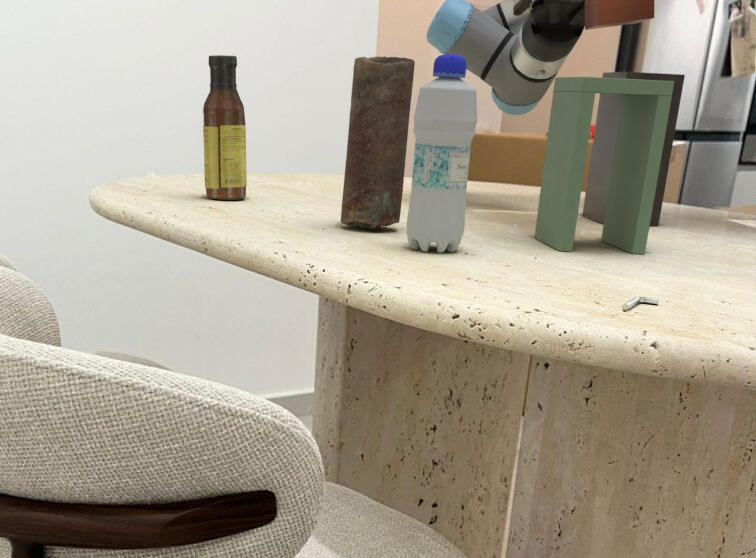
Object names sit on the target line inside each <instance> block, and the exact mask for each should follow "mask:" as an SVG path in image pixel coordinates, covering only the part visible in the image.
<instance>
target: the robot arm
mask: <svg viewBox="0 0 756 558" xmlns="http://www.w3.org/2000/svg"><path fill="white" fill-rule="evenodd" d="M584 30H585V0H501V1H500V2H498V3H497V4H493V5H492V6H490V7H489V8H487V9H484V10H483V11H482V10H480V9H479V8H477V7H476V6H474V4H473V3H472V2H469V1H466V0H445V1H444V2H443V3H442V4H441V6H439V8H438V10H437V12H436V14H435V15H434V17H433V18H432V20H431V22H430V24H429V27H428V29H427V32H426V35H425V36H426V42H427V43H428V44H430V46H432V47H433V48H435V49H436V50H438V52H439V53H440V54H441V55H444V54H455V55H459V56H462V57H463V58H465V60H466V71H469V72H470V73H471V74H474V75H475V76H477V78H479V79H480V80H481V81H483V82H484V83H485V84H487V85H488V86H489V87H491V97H492V100H493V102H494V104H495V106H496V107H497V109H499V110H500V111H501V112H503V113H505V114H507V115H511V116H522V115H525V114H528V113H529V112H531V111H532V110H533V109H535V108H536V107H537V106H538V104H539V103H540V101H541V100H542V99H543V98H544V97H545V95H546V93H547V92H548V90H549V89H550V87H551V85H552V83H553V81H555V78H556V76H557V75H558V73H559V71H560V70H561V69H562V66H564V64H565V62H566V60H567V58H568V57H569V55H570V53H571V52H572V51H573V49H574V48H575V46H576V44H577V43H578V41H579V39H580V38H581V36H582V34H583V32H584Z"/></svg>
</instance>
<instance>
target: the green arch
mask: <svg viewBox="0 0 756 558" xmlns="http://www.w3.org/2000/svg"><path fill="white" fill-rule="evenodd" d="M673 86H674V81H659V80H640V79H620V78H602V77H596V76H562V77H561V76H559V77H556V76H555V78H554V84H553V91H552V99H551V107H550V112H549V113H550V114H549V122H548V128H547V129H548V130H547V136H546V144H545V152H544V160H543V168H542V176H541V183H540V190H539V197H538V198H539V199H538V206H537V215H536V222H535V229H534V239H535V240H537V241H540V242H542V243H543V244H545V245H547V246H549V247H551V248H553V249H555V250H557V251H558V252H571V253H572V252H573V250H574V243H575V238H576V237H575V236H576V230H577V229H576V228H577V222H578V217H579V209H580V201H581V195H582V189H583V188H582V187H583V181H584V175H585V174H584V173H585V168H586V167H585V166H586V161H587V153H588V147H589V139H590V133H591V126H592V118H593V112H594V104H595V98H596V94H600V93H601V94H622V95H624V96H623V102H622V108H621V115H620V121H619V128H618V134H617V141H616V147H615V154H614V160H613V167H612V173H611V180H610V186H609V192H608V199H607V205H606V212H605V218H604V224H602V232H601V238H600V241H602V242H604V243H606V244H609V245H611V246H613V247H615V248H618V249H620V250H623V251H624V252H627V253H630V254H631V255H645V254H646V248H647V242H648V238H649V233H650V227H651V226H650V220H651V214H652V209H653V203H654V197H655V191H656V185H657V180H658V174H659V168H660V162H661V156H662V151H663V145H664V139H665V133H666V127H667V121H668V116H669V110H670V104H671V98H672V92H673Z"/></svg>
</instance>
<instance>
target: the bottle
mask: <svg viewBox="0 0 756 558" xmlns="http://www.w3.org/2000/svg"><path fill="white" fill-rule="evenodd" d="M466 75H467V69H466V60H465V58H463V57H462V56H459V55H455V54H440V55H438V56H437V57H436V58H435V60H434V62H433V69H432V77H435V78H434V79H432V80H430V81H429V82H427V83H425V84H424V85H422V86H421V87H419V91H418V96H417V101H416V105H415V106H416V107H415V110H414V114H413V116H412V117H413V123H414V124H413V125H414V126H413V129H412V132H413V134H414V137H415V141H414V152H413V153H414V154H413V164H412V165H413V166H412V177H411V189H410V197H409V203H408V204H409V205H408V211H407V218H406V236H407V237H406V238H407V242H408V243H407V244H408V245H409V247H410V248H411V249H413V250H419V248H420V250H421V251H422V252H424V253H425V252H429V250H430V246H431V243H435V245H436V252H437V253H439V254H442V253H444V252H445V251H447V252H448V253H453V252H455V251H456V250H457V249H458V248H459V247H460V244H461V241H462V239H463V236H464V233H465V225H466V198H467V188H468V180H469V179H468V178H469V169H470V168H469V167H470V158H471V149H472V141H473V139H474V137H475V136H476V128H477V126H476V125H477V123H478V95H477V89H476V88H474V87H473V86H471V85H470V84H469V83H467V82H466V81H465V80H463V79H466Z"/></svg>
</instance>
